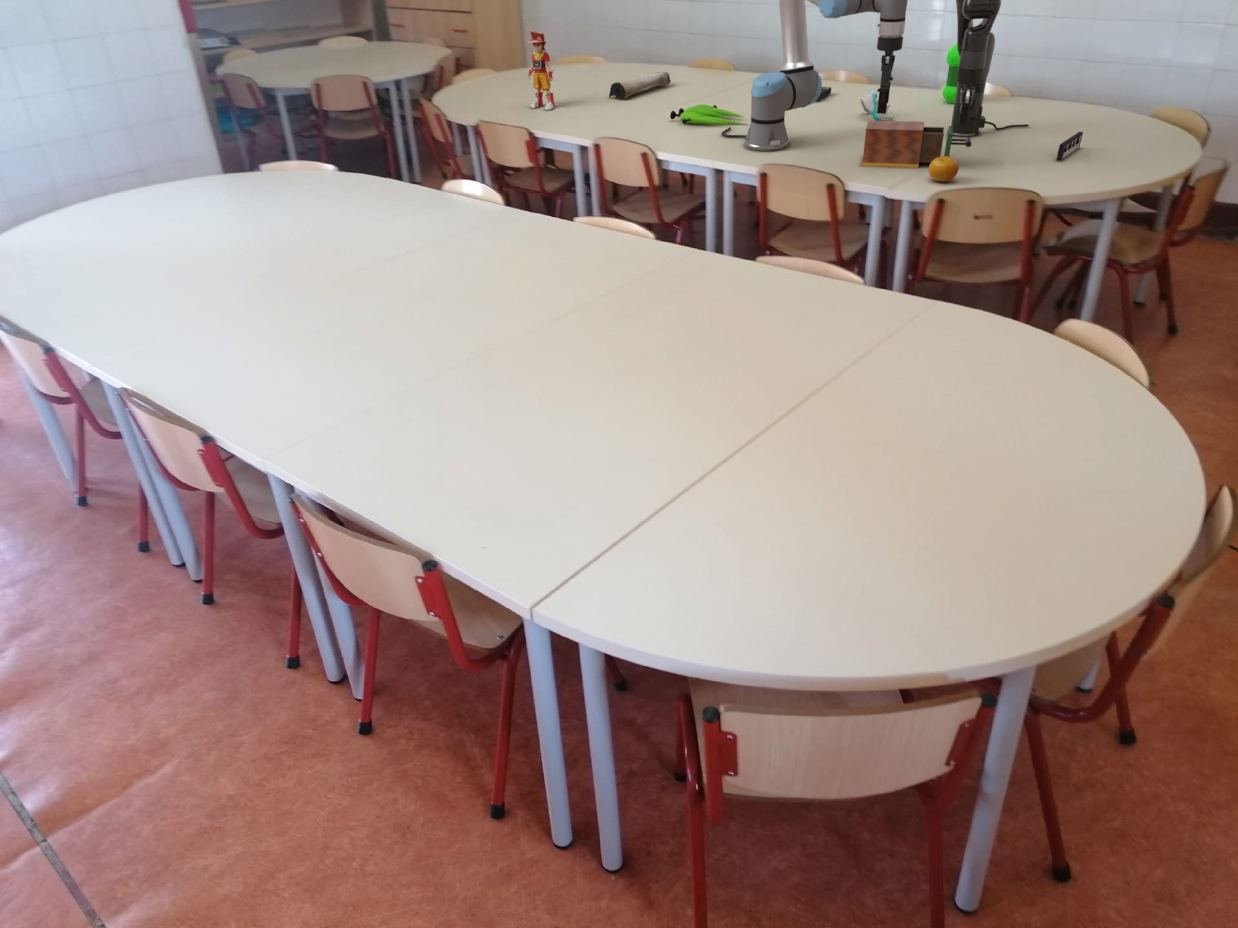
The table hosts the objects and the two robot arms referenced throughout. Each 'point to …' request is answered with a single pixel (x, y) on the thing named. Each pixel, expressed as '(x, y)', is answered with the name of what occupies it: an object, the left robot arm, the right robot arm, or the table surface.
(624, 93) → the rolled mat
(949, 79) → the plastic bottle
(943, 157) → the fruit
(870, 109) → the anatomical model
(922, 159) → the drawer
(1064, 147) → the midi keyboard
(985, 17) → the right robot arm
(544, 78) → the toy
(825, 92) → the disk drive
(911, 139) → the cabinet
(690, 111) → the toy
